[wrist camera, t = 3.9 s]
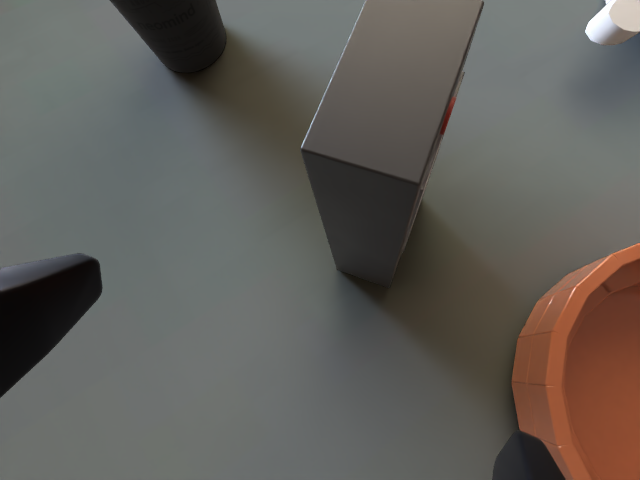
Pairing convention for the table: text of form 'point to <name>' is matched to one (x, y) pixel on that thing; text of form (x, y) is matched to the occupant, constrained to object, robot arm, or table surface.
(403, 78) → the remote
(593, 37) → the bunny figurine
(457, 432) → the table surface
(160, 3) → the drinking cup
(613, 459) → the bowl
